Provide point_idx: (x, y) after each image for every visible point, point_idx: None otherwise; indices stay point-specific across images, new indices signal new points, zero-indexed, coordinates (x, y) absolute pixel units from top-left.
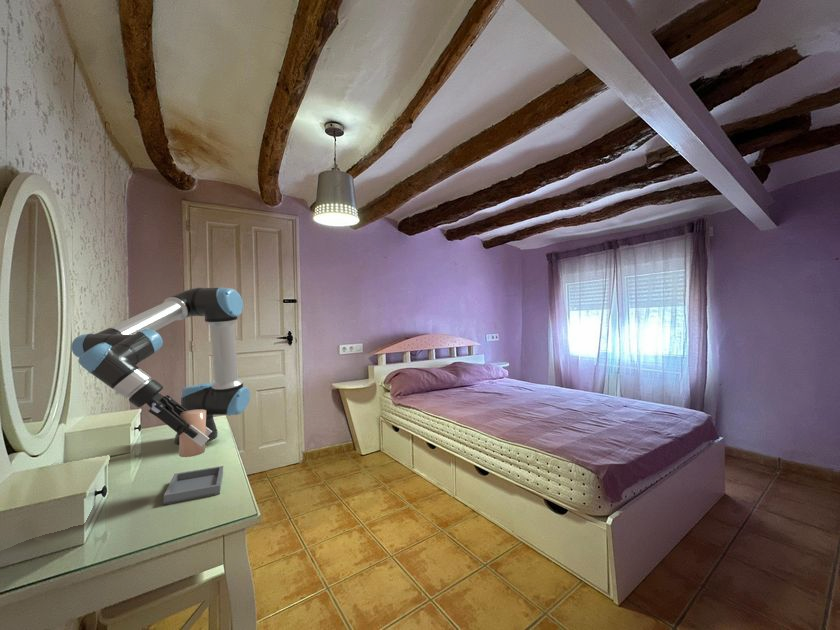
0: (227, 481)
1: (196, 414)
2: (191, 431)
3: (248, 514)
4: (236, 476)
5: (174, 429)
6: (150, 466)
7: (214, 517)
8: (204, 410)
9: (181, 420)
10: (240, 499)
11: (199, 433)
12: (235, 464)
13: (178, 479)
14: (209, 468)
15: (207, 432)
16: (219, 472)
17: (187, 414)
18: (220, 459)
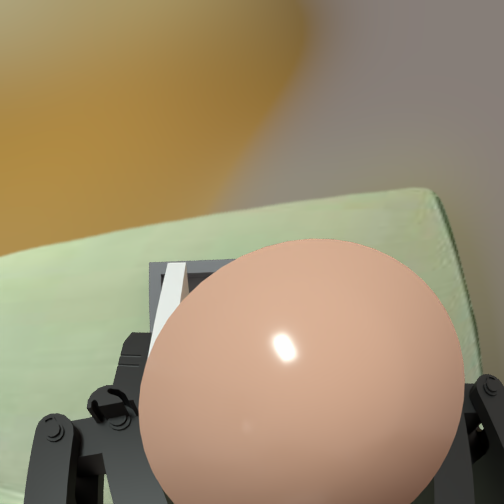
0: (225, 249)
1: (450, 334)
2: None
3: (429, 193)
4: (195, 226)
5: (479, 443)
6: (21, 472)
7: (427, 259)
8: (267, 269)
9: (464, 446)
10: (363, 208)
11: None
12: (89, 237)
13: None
14: (154, 308)
15: (186, 290)
16: (211, 269)
17: (433, 443)
18: (27, 288)
